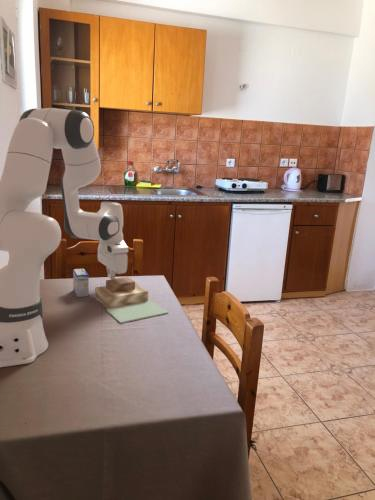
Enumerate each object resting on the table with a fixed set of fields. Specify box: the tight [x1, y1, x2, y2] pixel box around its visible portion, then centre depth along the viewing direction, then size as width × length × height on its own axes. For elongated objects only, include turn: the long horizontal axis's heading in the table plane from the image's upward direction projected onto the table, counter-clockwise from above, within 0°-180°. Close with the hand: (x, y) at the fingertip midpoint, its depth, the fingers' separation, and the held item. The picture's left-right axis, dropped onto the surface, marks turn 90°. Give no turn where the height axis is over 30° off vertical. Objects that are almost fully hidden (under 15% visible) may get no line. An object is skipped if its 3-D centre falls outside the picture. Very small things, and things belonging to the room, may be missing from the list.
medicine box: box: [72, 268, 90, 298], centre depth 158 cm, size 8×4×9 cm, turn 25°
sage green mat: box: [105, 300, 169, 325], centre depth 144 cm, size 18×12×1 cm, turn 123°
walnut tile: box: [105, 276, 136, 293], centre depth 154 cm, size 9×6×3 cm, turn 123°
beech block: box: [94, 282, 149, 309], centre depth 154 cm, size 16×12×4 cm
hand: (111, 278), depth 160 cm, fingers closed
